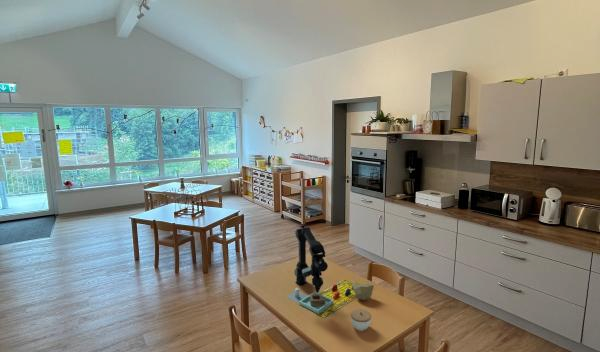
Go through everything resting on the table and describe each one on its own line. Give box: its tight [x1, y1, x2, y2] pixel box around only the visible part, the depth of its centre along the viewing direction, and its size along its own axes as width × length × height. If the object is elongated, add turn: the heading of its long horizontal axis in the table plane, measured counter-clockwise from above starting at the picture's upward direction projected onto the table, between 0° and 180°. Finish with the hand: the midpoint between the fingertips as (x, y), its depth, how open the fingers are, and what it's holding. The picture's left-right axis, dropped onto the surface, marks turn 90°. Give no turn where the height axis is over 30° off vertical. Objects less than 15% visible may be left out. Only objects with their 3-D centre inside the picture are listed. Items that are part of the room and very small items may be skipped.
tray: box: [298, 291, 335, 315], centre depth 202 cm, size 15×15×2 cm
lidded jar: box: [350, 308, 372, 332], centre depth 179 cm, size 11×11×9 cm
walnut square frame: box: [309, 293, 325, 307], centre depth 202 cm, size 7×9×4 cm
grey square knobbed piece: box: [286, 287, 308, 304], centre depth 210 cm, size 10×10×6 cm
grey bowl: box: [350, 281, 374, 301], centre depth 208 cm, size 15×11×12 cm
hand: (316, 288), depth 200 cm, fingers open, 9 cm apart
